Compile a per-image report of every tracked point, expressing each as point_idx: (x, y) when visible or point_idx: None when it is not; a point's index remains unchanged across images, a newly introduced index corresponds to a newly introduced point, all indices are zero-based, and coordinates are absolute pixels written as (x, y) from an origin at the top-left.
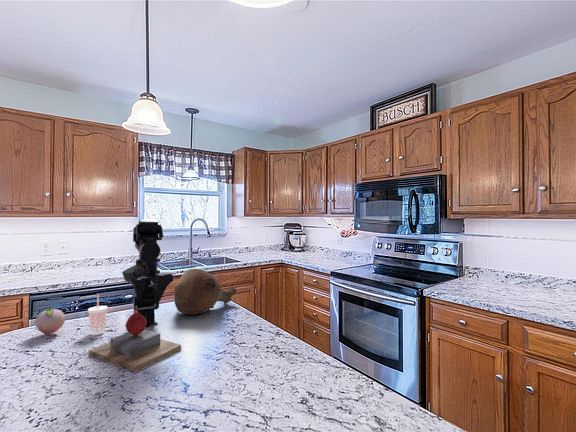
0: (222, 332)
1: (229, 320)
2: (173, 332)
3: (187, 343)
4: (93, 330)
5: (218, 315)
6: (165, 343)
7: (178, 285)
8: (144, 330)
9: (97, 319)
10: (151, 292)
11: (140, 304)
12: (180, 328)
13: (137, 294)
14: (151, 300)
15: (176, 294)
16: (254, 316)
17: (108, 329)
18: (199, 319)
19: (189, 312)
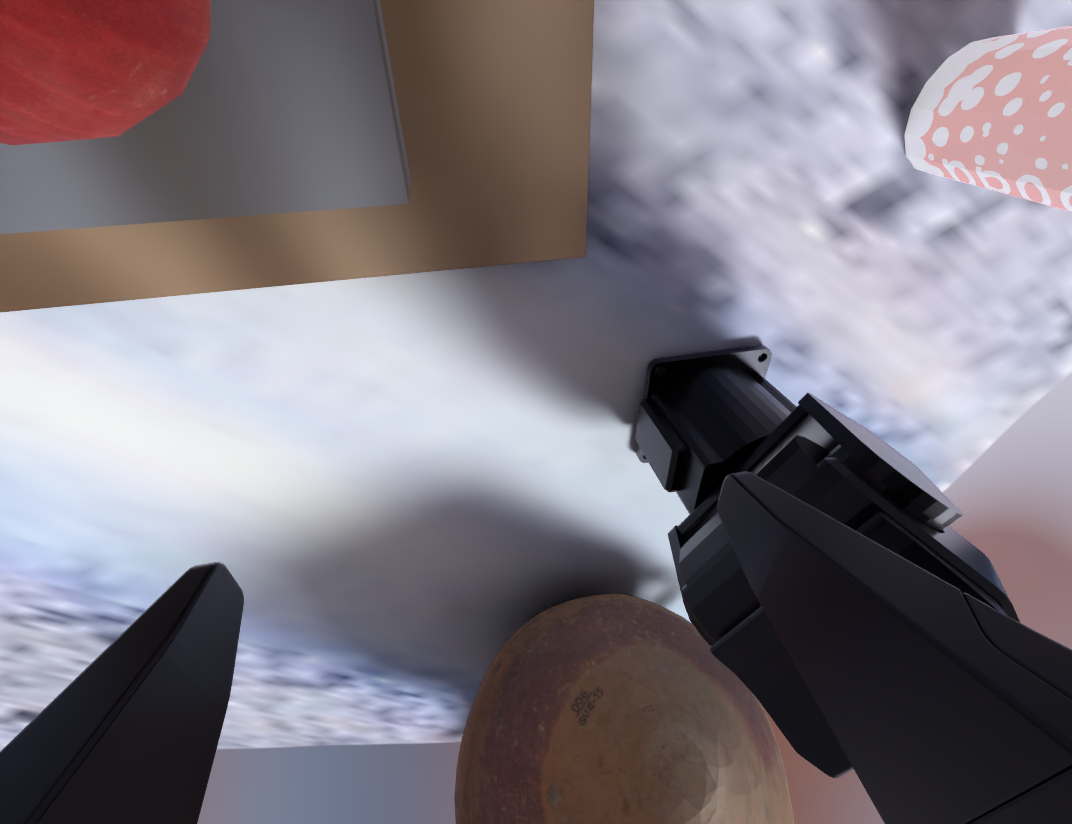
0: (145, 603)
1: (319, 677)
2: (408, 445)
3: (86, 400)
4: (1008, 40)
5: (440, 671)
6: (63, 252)
7: (683, 815)
8: (277, 189)
9: None
10: (783, 663)
11: (782, 474)
12: (437, 499)
13: (809, 540)
14: (715, 573)
15: (664, 713)
16: (272, 745)
17: (909, 208)
18: (475, 607)
19: (532, 620)
